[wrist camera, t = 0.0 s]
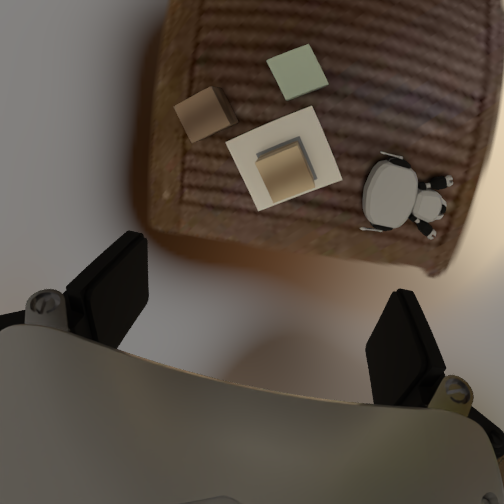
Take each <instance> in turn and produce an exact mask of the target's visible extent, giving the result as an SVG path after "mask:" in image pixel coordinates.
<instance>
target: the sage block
mask: <svg viewBox="0 0 504 504" xmlns="http://www.w3.org/2000/svg"><path fill="white" fill-rule="evenodd" d="M266 61H267V63H268V65H269V67H270V69H271V71H272V73H273V75H274V77H275V79H276V81H277V83H278V85H279V87H280V89H281V91H282V93H283V95H284V97H285V99H286V100H287V101H289V100H291V99H294V98H296V97H299V96H302V95H304V94H307V93H309V92H312V91H315V90H318V89H320V88H323V87H325V86H327V85H328V82H327V79H326V77H325V75H324V73H323V71H322V69H321V67H320V65H319V63H318V61H317V59H316V57H315V55H314V53H313V51H312V49H311V47H310V45H309V44H307V45H305V46H302V47H299V48H296V49H294V50H291V51H288V52H286V53H283V54H281V55H278V56H276V57H273V58H271V59H268V60H266Z"/></svg>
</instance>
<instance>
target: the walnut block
mask: <svg viewBox="0 0 504 504" xmlns="http://www.w3.org/2000/svg"><path fill="white" fill-rule="evenodd" d="M174 109H175V111H176V113H177V115H178V117H179V119H180V121H181V123H182V125H183V127H184V129H185V131H186V133H187V135H188V137H189V139H190V141H191V143H195V142H197V141H200V140H202V139H205V138H207V137H209V136H211V135H213V134H215V133H217V132H219V131H221V130H223V129H225V128H227V127H229V126H231V125H233V124H236V123H238V120H237V118H236V116H235V114H234V112H233V110H232V108H231V106H230V104H229V102H228V100H227V98H226V96H225V94H224V92H223V90H222V88H218V87H212V86H210V87H209V88H207V89H205V90H203V91H201V92H199V93H197V94H195V95H194V96H192V97H190V98H188V99H186V100H185V101H183V102H181V103H179V104H178V105H176V106H174Z"/></svg>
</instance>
